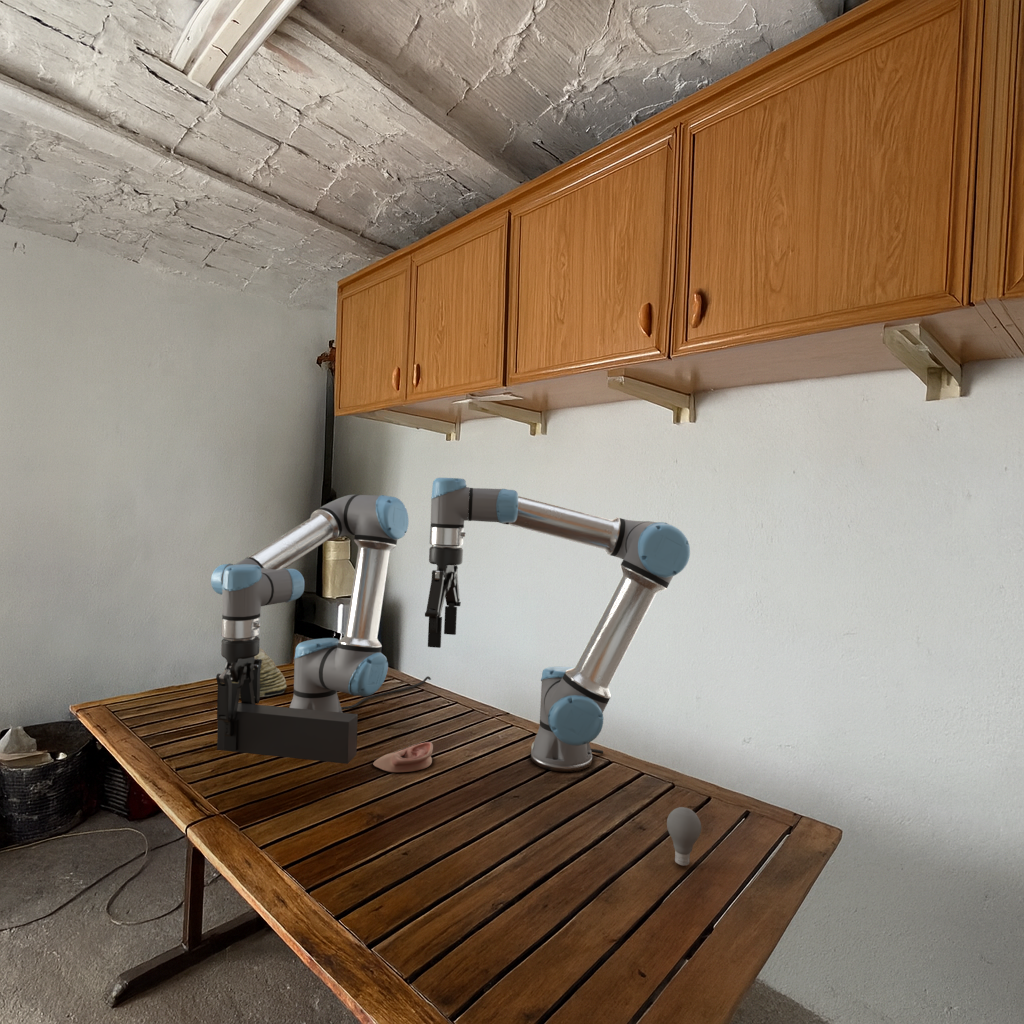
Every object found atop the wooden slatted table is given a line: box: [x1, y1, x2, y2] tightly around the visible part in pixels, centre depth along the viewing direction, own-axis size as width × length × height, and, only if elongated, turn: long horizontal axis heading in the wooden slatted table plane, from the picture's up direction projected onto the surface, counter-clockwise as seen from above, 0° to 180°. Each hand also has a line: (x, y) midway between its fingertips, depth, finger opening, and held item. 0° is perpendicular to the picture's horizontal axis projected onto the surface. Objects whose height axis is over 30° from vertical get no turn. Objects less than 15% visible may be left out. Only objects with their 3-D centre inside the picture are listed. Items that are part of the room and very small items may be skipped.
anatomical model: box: [372, 741, 434, 773], centre depth 152 cm, size 13×4×12 cm
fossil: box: [232, 647, 288, 699], centre depth 198 cm, size 9×18×15 cm, turn 132°
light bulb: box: [666, 806, 702, 867], centre depth 114 cm, size 6×6×10 cm
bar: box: [216, 702, 359, 765], centre depth 135 cm, size 29×5×9 cm, turn 81°
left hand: (238, 744), depth 136 cm, fingers closed on bar, 5 cm apart
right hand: (442, 640), depth 143 cm, fingers open, 13 cm apart
